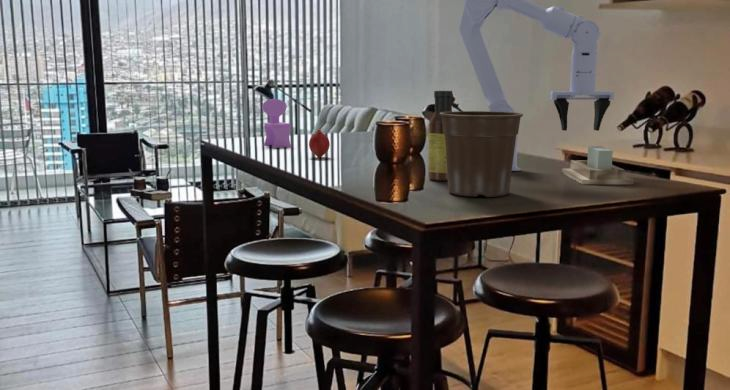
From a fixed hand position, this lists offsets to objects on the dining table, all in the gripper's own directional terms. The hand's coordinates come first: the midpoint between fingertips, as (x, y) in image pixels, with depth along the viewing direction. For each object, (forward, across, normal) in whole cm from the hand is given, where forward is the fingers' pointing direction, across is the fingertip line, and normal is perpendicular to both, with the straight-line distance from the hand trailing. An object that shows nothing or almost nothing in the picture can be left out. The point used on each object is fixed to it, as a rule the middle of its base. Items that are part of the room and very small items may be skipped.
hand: (580, 130), depth 170 cm
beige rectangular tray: (+10, +1, -11) cm, 15 cm away
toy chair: (+10, -81, +55) cm, 98 cm away
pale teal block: (+9, +1, -13) cm, 16 cm away
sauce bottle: (+10, -34, -13) cm, 38 cm away
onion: (+10, -65, +26) cm, 71 cm away
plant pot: (+10, -28, -30) cm, 42 cm away
